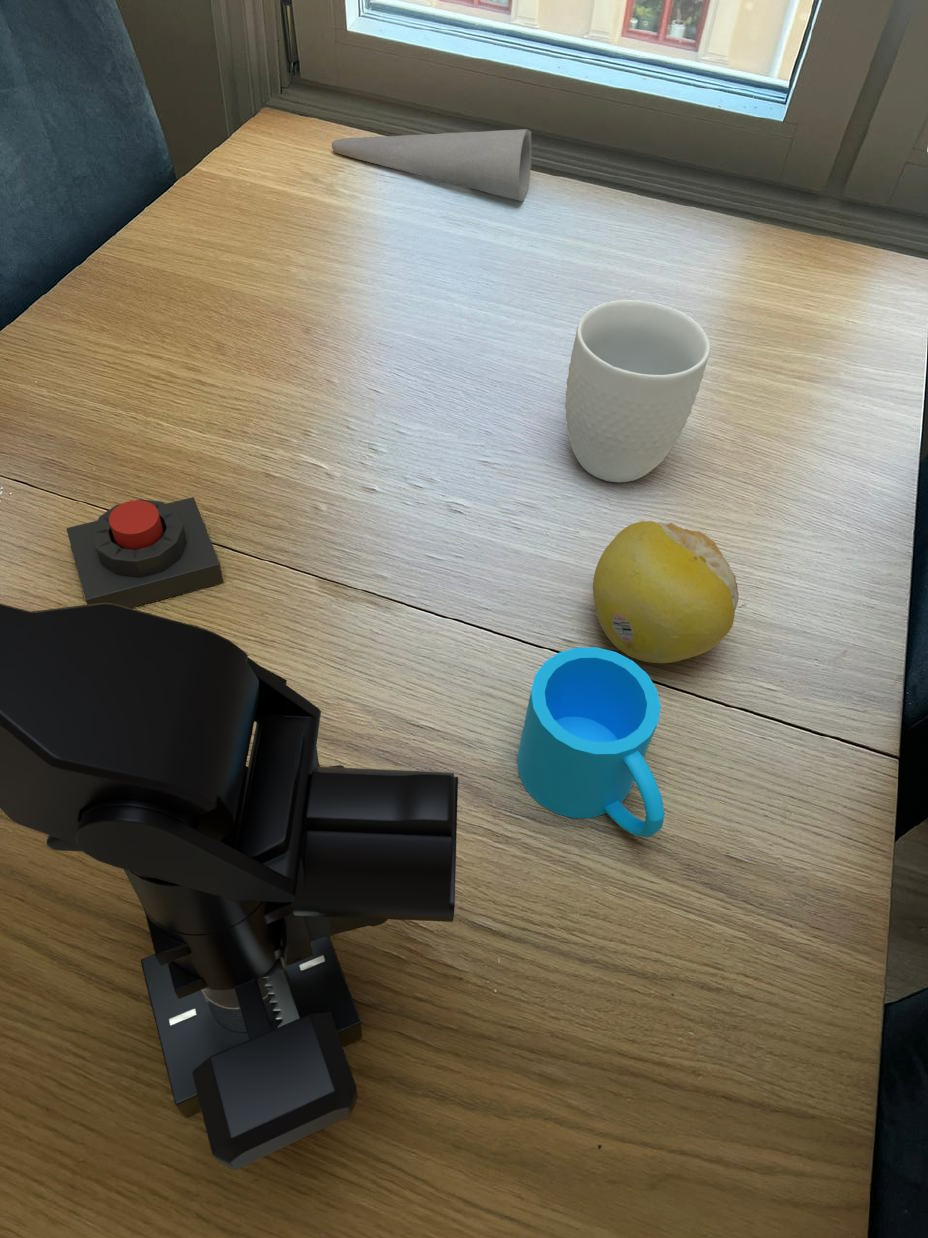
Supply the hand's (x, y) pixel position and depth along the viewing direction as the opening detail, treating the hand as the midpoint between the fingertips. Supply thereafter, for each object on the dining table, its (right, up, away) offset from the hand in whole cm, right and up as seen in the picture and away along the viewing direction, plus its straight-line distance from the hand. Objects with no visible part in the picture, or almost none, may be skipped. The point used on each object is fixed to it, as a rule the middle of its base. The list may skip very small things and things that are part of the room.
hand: (252, 993), depth 51 cm
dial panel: (0, -2, +3) cm, 3 cm away
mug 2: (+20, +9, +13) cm, 26 cm away
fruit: (+26, +19, +22) cm, 39 cm away
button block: (-14, +25, +23) cm, 37 cm away
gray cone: (+6, +76, +67) cm, 101 cm away
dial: (0, 0, 0) cm, 0 cm away
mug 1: (+25, +36, +36) cm, 56 cm away
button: (-13, +27, +21) cm, 36 cm away
